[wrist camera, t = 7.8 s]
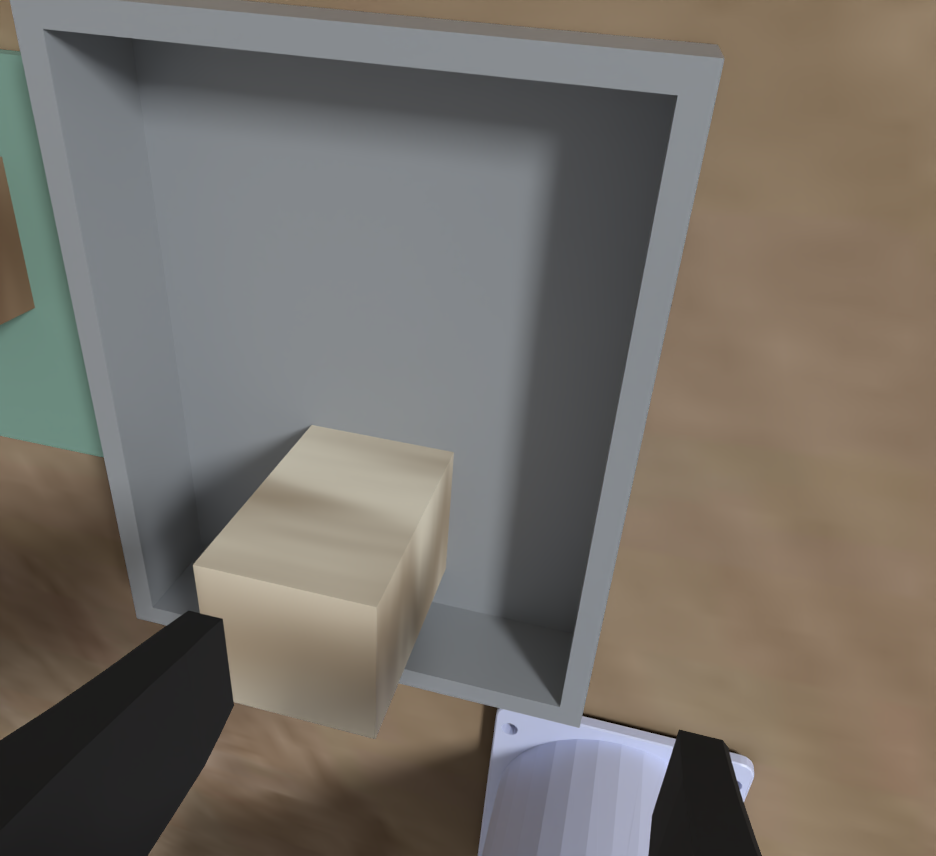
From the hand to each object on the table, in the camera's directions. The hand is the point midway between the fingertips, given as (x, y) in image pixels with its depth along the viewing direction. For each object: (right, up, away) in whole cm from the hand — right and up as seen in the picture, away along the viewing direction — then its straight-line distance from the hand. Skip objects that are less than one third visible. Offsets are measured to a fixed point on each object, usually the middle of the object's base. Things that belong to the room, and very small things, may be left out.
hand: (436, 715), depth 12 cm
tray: (-2, +6, +8) cm, 10 cm away
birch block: (-2, +2, +10) cm, 10 cm away
